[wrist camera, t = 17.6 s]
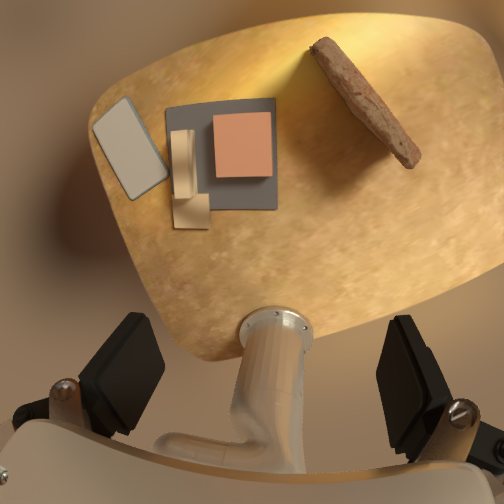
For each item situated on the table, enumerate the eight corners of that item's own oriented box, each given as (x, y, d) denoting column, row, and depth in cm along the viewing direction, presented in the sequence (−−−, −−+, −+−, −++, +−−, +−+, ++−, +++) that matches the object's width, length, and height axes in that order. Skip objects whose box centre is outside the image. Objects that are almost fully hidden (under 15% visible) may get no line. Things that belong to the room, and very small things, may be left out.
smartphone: (131, 202, 40) (90, 126, 35) (134, 201, 40) (94, 126, 36) (170, 175, 37) (125, 94, 32) (173, 174, 38) (129, 94, 33)
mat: (277, 208, 37) (277, 209, 37) (174, 209, 39) (173, 210, 39) (275, 98, 31) (275, 98, 31) (167, 108, 33) (165, 108, 33)
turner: (168, 132, 34) (159, 132, 32) (206, 128, 34) (198, 128, 31) (176, 226, 40) (167, 233, 37) (211, 227, 39) (204, 234, 37)
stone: (320, 41, 27) (300, 57, 29) (313, 17, 19) (286, 37, 21) (410, 149, 30) (389, 164, 32) (431, 158, 22) (404, 177, 24)
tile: (272, 176, 33) (270, 112, 30) (216, 177, 34) (213, 115, 31) (273, 173, 35) (271, 113, 32) (221, 174, 36) (218, 116, 33)
